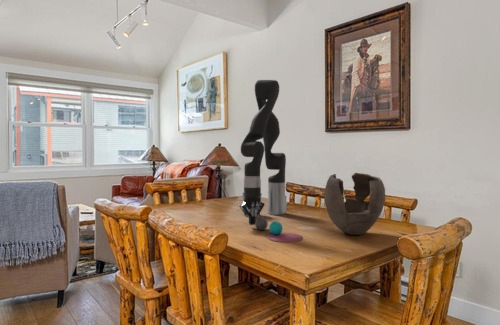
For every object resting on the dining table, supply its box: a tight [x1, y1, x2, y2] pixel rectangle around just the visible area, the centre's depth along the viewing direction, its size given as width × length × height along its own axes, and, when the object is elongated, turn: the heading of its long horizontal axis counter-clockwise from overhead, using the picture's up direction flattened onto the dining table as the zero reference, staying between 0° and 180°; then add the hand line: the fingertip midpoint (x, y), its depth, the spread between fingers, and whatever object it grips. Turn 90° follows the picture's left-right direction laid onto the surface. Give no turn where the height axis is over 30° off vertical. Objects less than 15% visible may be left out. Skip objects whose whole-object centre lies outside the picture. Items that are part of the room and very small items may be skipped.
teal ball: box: [268, 220, 283, 235], centre depth 139 cm, size 6×6×6 cm
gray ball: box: [254, 216, 269, 231], centre depth 147 cm, size 6×6×6 cm
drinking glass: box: [242, 192, 263, 218], centre depth 180 cm, size 10×10×12 cm
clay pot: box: [323, 172, 386, 236], centre depth 139 cm, size 24×24×25 cm
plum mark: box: [267, 232, 303, 243], centre depth 135 cm, size 14×14×1 cm
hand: (252, 224), depth 151 cm, fingers closed
